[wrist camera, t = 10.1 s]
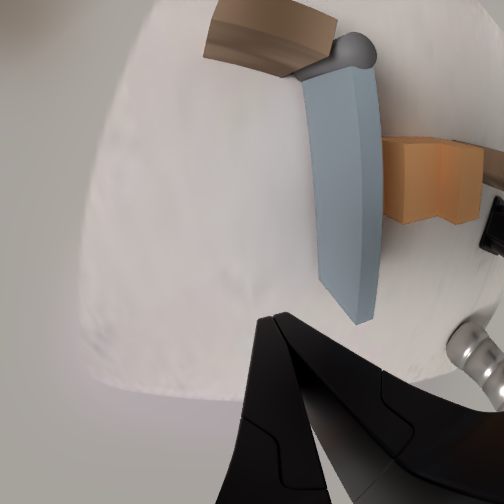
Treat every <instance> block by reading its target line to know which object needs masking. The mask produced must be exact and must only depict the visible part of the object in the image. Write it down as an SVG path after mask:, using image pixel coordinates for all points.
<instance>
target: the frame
mask: <svg viewBox="0 0 504 504" xmlns="http://www.w3.org/2000/svg"><path fill="white" fill-rule="evenodd" d="M337 22H338V20H337V19H335V18H333V17H331V16H329V15H327V14H324V13H322V12H320V11H318V10H315V9H313V8H310V7H308V6H305V5H303V4H300V3H298V2H295V1H292V0H219V1H218V4H217V6H216V9H215V11H214V14H213V16H212V19H211V23H210V27H209V31H208V36H207V40H206V45H205V49H204V54H203V57H204V58H209V59H214V60H218V61H223V62H227V63H231V64H236V65H240V66H243V67H247V68H251V69H254V70H258V71H261V72H265V73H268V74H271V75H275V76H278V77H281V78H282V77H284V76H286V75H288V74H290V73H292V72H295V71H297V70H299V69H301V68H303V67H305V66H308V65H310V64H312V63H314V62H317V61H319V60H321V59H324V58H326V57H328V56H329V54H330V50H331V46H332V42H333V38H334V34H335V30H336V26H337ZM452 141H453V142H457V143H462V144H466V145H471V146H475V147H479V148H483V149H484V161H483V180H482V183H484V184H487V185H489V186H492V187H494V188H497V189H499V190H502V191H504V152H501V151H497V150H494V149H490V148H486V147H482V146H478V145H474V144H470V143H465V142H461V141H456V140H452Z"/></svg>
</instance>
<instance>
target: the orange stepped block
mask: <svg viewBox="0 0 504 504" xmlns="http://www.w3.org/2000/svg"><path fill="white" fill-rule="evenodd" d="M381 138H382V159H383V215H384V214H385V215H387V216H388V217H390V218H392V219H394V220H396V221H397V222H399V223H401V224H407V223H411V222H416V221H420V220H424V219H428V218H432V217H436V216H439V217H441V218H443V219H445V220H447V221H449V222H451V223H453V224H455V225H458V224H462V223H465V222H468V221H471V220H474V219H478V217H479V210H480V202H481V192H482V180H483V161H484V149H483V148H479V147H475V146H471V145H466V144H462V143H457V142H453V141H448V140H443V139H437V138H432V137H381Z"/></svg>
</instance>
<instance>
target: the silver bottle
mask: <svg viewBox="0 0 504 504" xmlns="http://www.w3.org/2000/svg"><path fill="white" fill-rule="evenodd" d="M446 353H447V356H448V358H449V360H450V361H451V363H453V364H454V365H455V366H456V367H458V368H459V369H461V370H463V371H464V372H465V373H466V374H468V375H469V376H470V377H471V378H472V379H473V380H474V381H475V382H477V384H478V385H479V386H480V387H481V388H482V390H483V391H484V392H485V394H486V395H487V397H488V398H489V400H490V401H491V403H492V405H493V407H494V408H495V410H496V411H497V412H501V411H504V353H503V352H502V351H501V350H500V349H499V348H498V346H497V345H496V344H495V343H494V342H493V341H492V340H491V338H489V335H488V334H487V332H486V331H485V330H484V329H483V327H482V326H481V325H479V324H477V323H475V322H474V321H468V322H465V323H464V324H463V325H461V326H460V327H459V328H458V329H457V330H456V332H455V333H454V334H453V335H452V337H451V338H450V340H449V342H448V344H447V347H446Z"/></svg>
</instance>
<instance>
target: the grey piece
mask: <svg viewBox="0 0 504 504" xmlns="http://www.w3.org/2000/svg"><path fill="white" fill-rule="evenodd" d="M376 60H377V53H376V49H375V47H374V45H373V43H372V42H371V41H370V40H369V39H368V38H367V37H366V36H364V35H363V34H361V33H357V32H351V33H348V34H346V35H344V36H341V37H339V38H337V39H335V40H333V42H332V46H331V50H330V54H329V56H328V57H326V58H324V59H321V60H319V61H317V62H314V63H312V64H310V65H308V66H305V67H303V68H301V69H299V70H297V71H295V72H293V73H294V75H295V77H296V78H297V79H298V80H299V81H300V82H302V86H303V92H304V99H305V107H306V115H307V123H308V131H309V140H310V149H311V159H312V170H313V181H314V194H315V208H316V225H317V245H318V274H319V280H320V281H321V283H322V284H323V285H324V286H325V288H326V289H327V290H328V291H329V292H330V294H331V295H332V296H333V297H334V299H335V300H336V301H337V302H338V304H339V305H340V306H341V307H342V309H343V310H344V311H345V312H346V314H347V315H348V316H349V317H350V319H351V320H352V321H353V323H354V324H355V325H358V324H361V323H363V322H366V321H369V320H371V319H373V315H374V308H375V301H376V293H377V285H378V276H379V265H380V253H381V239H382V217H383V159H382V138H381V124H380V113H379V103H378V94H377V86H376V79H375V72H374V68H371V67H373V66H374V64H375V63H376Z"/></svg>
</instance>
